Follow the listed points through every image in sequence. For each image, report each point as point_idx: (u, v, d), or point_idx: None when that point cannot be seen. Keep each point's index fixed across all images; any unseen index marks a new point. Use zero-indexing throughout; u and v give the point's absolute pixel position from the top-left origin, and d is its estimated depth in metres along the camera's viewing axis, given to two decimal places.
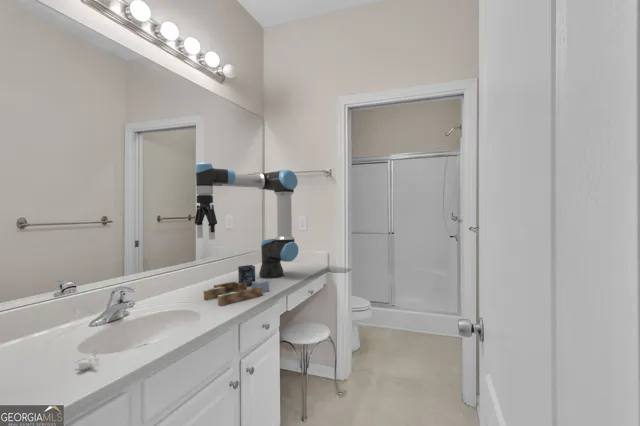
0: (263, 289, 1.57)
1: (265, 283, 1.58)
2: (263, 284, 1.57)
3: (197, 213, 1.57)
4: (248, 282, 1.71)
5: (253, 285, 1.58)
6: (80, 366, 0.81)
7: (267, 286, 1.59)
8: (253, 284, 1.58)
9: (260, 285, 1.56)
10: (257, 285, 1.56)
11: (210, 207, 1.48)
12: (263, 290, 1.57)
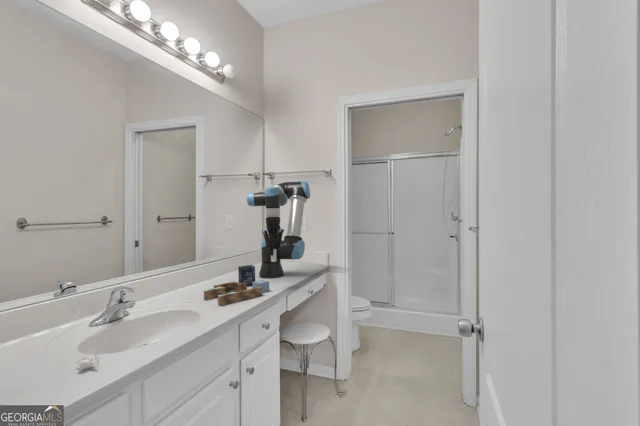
0: (263, 289, 1.57)
1: (266, 283, 1.58)
2: (264, 284, 1.57)
3: (277, 235, 1.69)
4: (248, 282, 1.71)
5: (253, 285, 1.58)
6: (81, 366, 0.81)
7: (267, 286, 1.59)
8: (253, 284, 1.58)
9: (261, 285, 1.56)
10: (258, 285, 1.56)
11: (263, 233, 1.62)
12: (264, 290, 1.57)
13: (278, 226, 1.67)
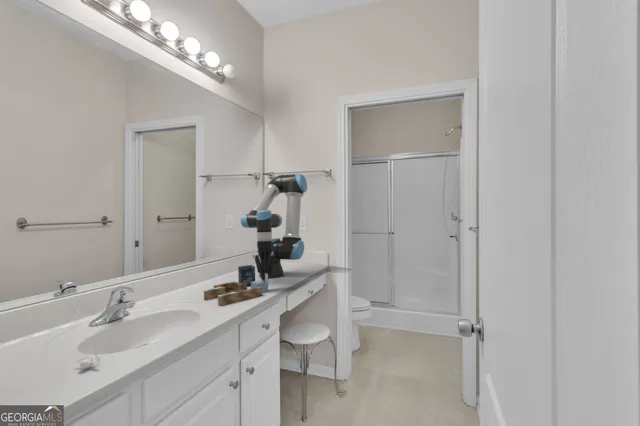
0: (262, 289, 1.57)
1: (264, 283, 1.57)
2: (262, 284, 1.57)
3: (269, 259, 1.65)
4: (248, 282, 1.71)
5: (252, 285, 1.58)
6: (81, 365, 0.81)
7: (266, 286, 1.58)
8: (252, 284, 1.58)
9: (259, 285, 1.55)
10: (256, 285, 1.55)
11: (254, 258, 1.58)
12: (262, 290, 1.57)
13: (270, 250, 1.63)
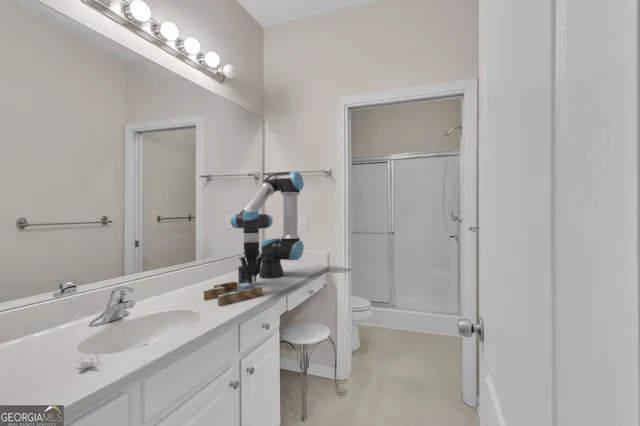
0: None
1: (251, 286, 1.52)
2: (249, 287, 1.51)
3: (257, 261, 1.59)
4: None
5: (238, 288, 1.52)
6: (82, 365, 0.81)
7: None
8: (238, 287, 1.52)
9: (245, 288, 1.50)
10: (242, 288, 1.50)
11: (241, 260, 1.52)
12: None
13: (257, 251, 1.57)
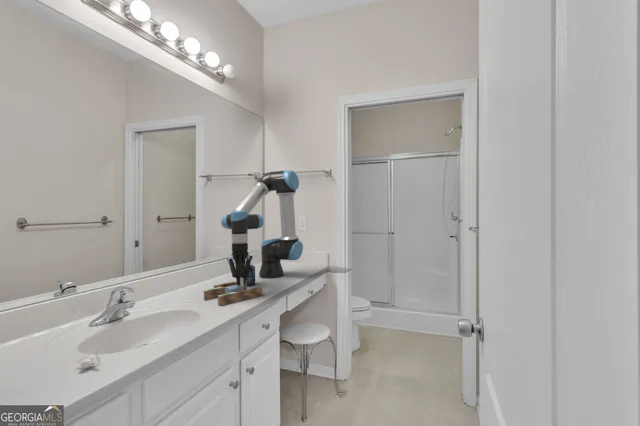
0: None
1: (239, 289, 1.47)
2: (237, 290, 1.46)
3: (245, 262, 1.55)
4: (248, 282, 1.71)
5: (226, 291, 1.48)
6: (82, 365, 0.81)
7: None
8: (226, 290, 1.48)
9: (233, 291, 1.45)
10: (230, 291, 1.45)
11: (228, 261, 1.47)
12: None
13: (246, 253, 1.52)
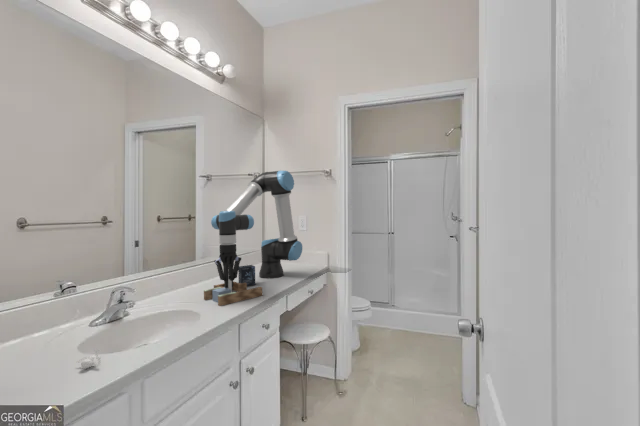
0: None
1: (227, 291, 1.43)
2: (224, 292, 1.42)
3: (234, 264, 1.50)
4: (248, 282, 1.71)
5: (213, 293, 1.43)
6: (82, 365, 0.81)
7: None
8: (213, 292, 1.43)
9: (221, 294, 1.41)
10: (217, 294, 1.41)
11: (216, 263, 1.43)
12: None
13: (234, 254, 1.48)
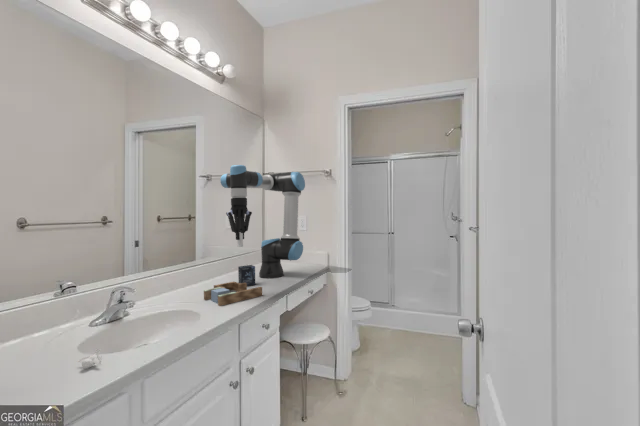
0: None
1: (225, 292, 1.42)
2: (223, 293, 1.42)
3: (245, 218, 1.55)
4: (248, 282, 1.71)
5: (212, 294, 1.43)
6: (83, 365, 0.81)
7: None
8: (212, 293, 1.43)
9: (219, 294, 1.40)
10: (216, 294, 1.40)
11: (228, 215, 1.48)
12: None
13: (245, 208, 1.52)
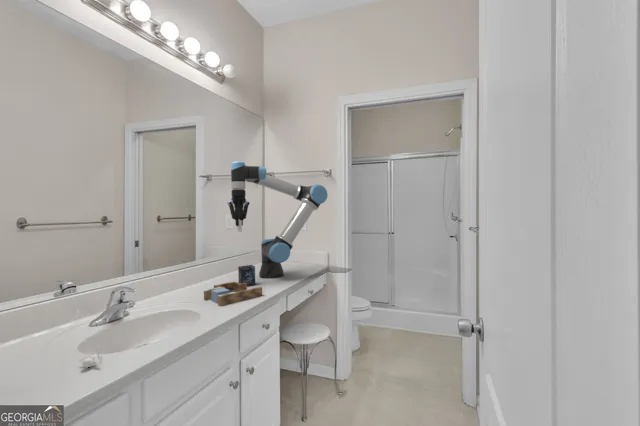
0: None
1: (225, 292, 1.42)
2: (223, 293, 1.42)
3: None
4: (248, 282, 1.71)
5: (212, 294, 1.43)
6: (84, 364, 0.82)
7: None
8: (212, 293, 1.43)
9: (219, 294, 1.40)
10: (216, 294, 1.40)
11: (229, 204, 1.72)
12: None
13: (243, 199, 1.77)
